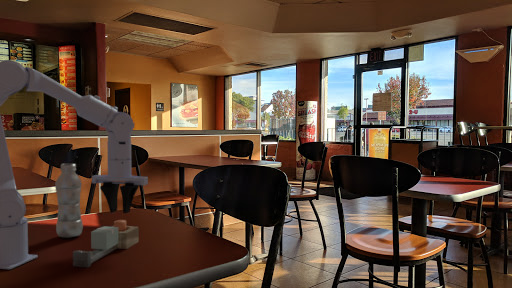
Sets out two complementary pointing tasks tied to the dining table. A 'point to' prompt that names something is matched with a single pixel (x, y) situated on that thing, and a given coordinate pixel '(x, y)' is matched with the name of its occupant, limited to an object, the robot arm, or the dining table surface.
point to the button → (120, 225)
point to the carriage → (104, 238)
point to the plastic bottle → (68, 202)
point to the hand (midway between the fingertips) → (120, 212)
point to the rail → (89, 256)
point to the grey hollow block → (128, 237)
